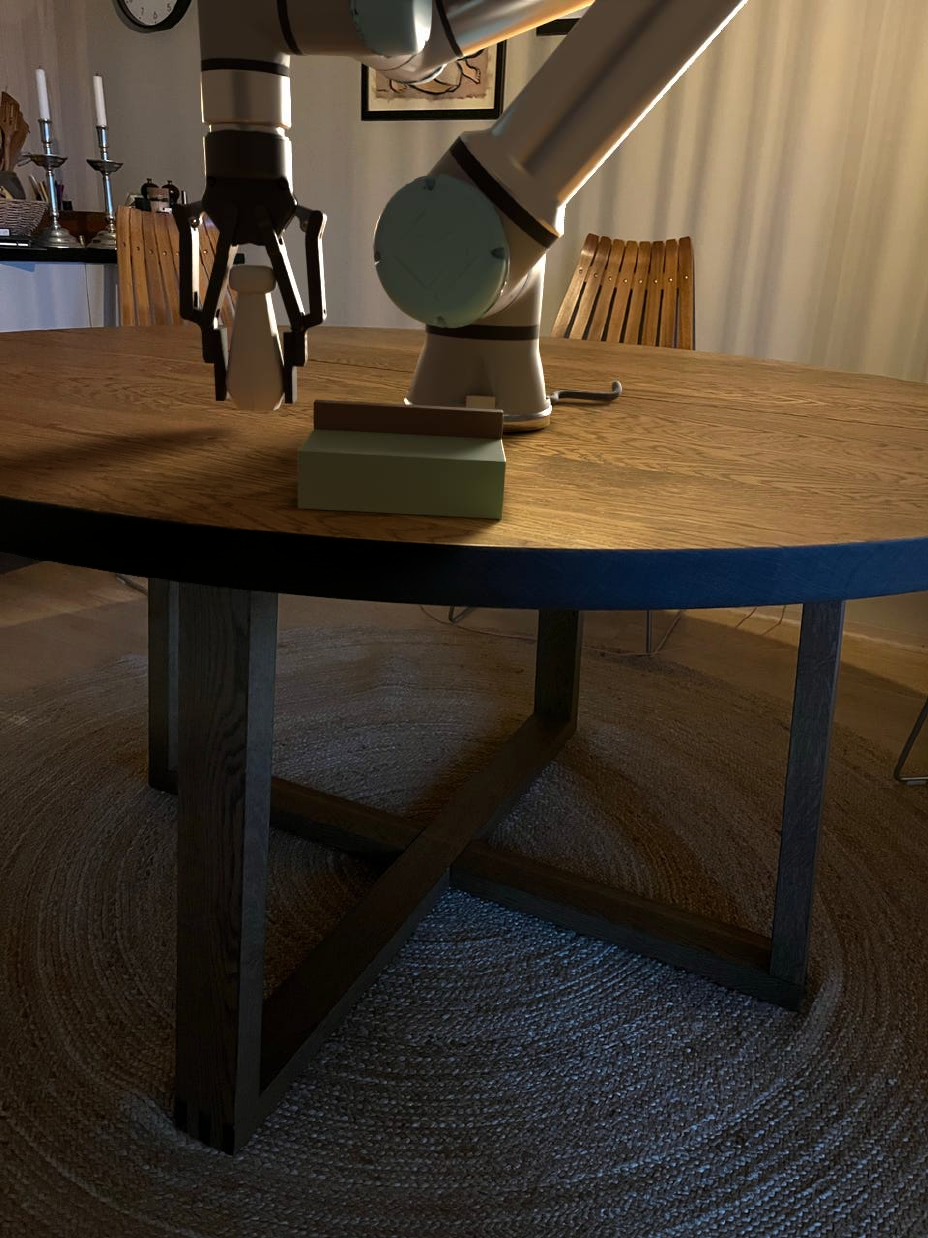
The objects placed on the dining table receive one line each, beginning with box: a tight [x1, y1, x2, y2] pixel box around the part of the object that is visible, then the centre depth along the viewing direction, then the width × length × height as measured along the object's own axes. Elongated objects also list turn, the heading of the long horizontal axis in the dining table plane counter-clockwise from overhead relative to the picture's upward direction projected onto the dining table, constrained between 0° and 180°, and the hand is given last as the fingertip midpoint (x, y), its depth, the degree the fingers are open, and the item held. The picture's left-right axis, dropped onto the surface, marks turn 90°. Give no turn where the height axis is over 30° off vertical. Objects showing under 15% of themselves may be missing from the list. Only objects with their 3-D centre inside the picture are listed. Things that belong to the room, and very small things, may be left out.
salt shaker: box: [225, 263, 285, 413], centre depth 93 cm, size 6×6×13 cm
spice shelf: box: [297, 399, 507, 520], centre depth 71 cm, size 9×14×6 cm, turn 90°
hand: (257, 399), depth 95 cm, fingers closed on salt shaker, 6 cm apart
